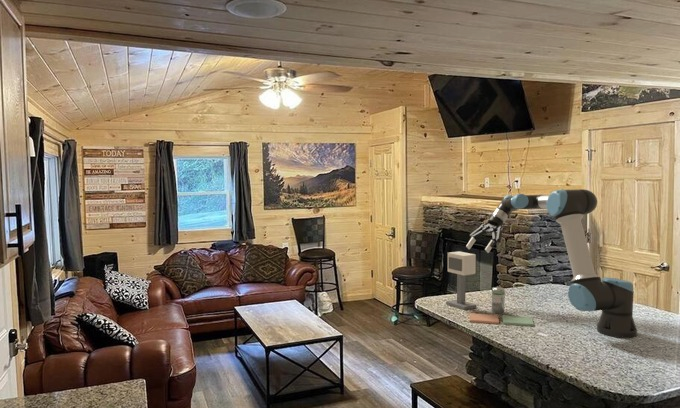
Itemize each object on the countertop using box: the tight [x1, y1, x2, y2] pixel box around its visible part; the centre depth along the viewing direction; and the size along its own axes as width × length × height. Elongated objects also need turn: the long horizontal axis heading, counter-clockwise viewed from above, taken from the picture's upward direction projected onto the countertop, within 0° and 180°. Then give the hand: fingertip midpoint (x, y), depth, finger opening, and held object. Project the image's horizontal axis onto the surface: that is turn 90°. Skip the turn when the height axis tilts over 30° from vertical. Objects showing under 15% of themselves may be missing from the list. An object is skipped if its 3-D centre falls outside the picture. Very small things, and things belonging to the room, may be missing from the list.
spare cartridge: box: [491, 286, 506, 315], centre depth 246 cm, size 6×6×12 cm
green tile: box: [501, 314, 535, 327], centre depth 231 cm, size 11×13×1 cm
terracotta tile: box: [469, 312, 500, 325], centre depth 235 cm, size 11×13×1 cm
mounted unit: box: [445, 251, 478, 311], centre depth 258 cm, size 9×13×28 cm
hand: (476, 249), depth 263 cm, fingers open, 13 cm apart
